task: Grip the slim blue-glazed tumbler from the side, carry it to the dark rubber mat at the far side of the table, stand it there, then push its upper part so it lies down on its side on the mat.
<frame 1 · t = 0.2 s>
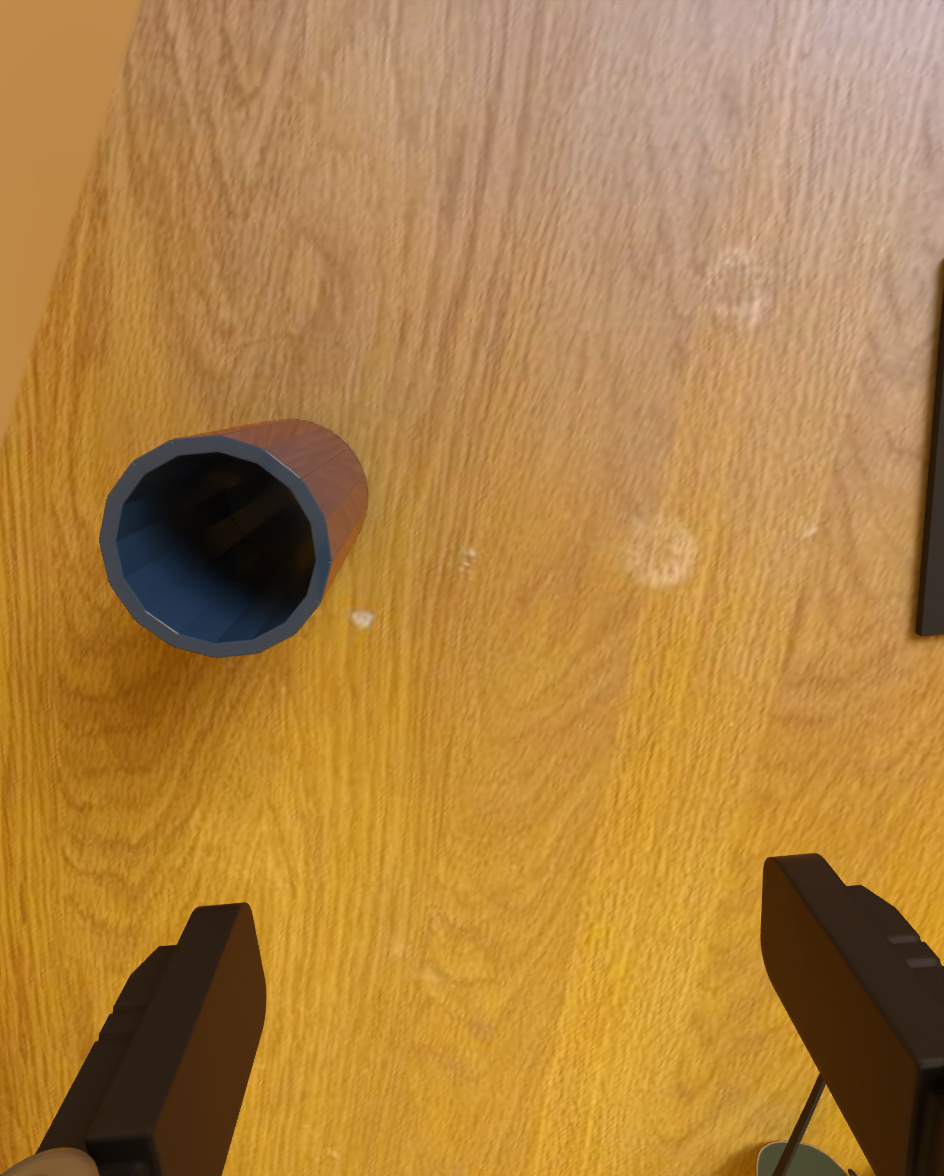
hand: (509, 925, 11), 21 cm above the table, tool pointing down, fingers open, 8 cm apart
tumbler: (295, 494, 30), on the table
sunglasses: (897, 1041, 40), on the table
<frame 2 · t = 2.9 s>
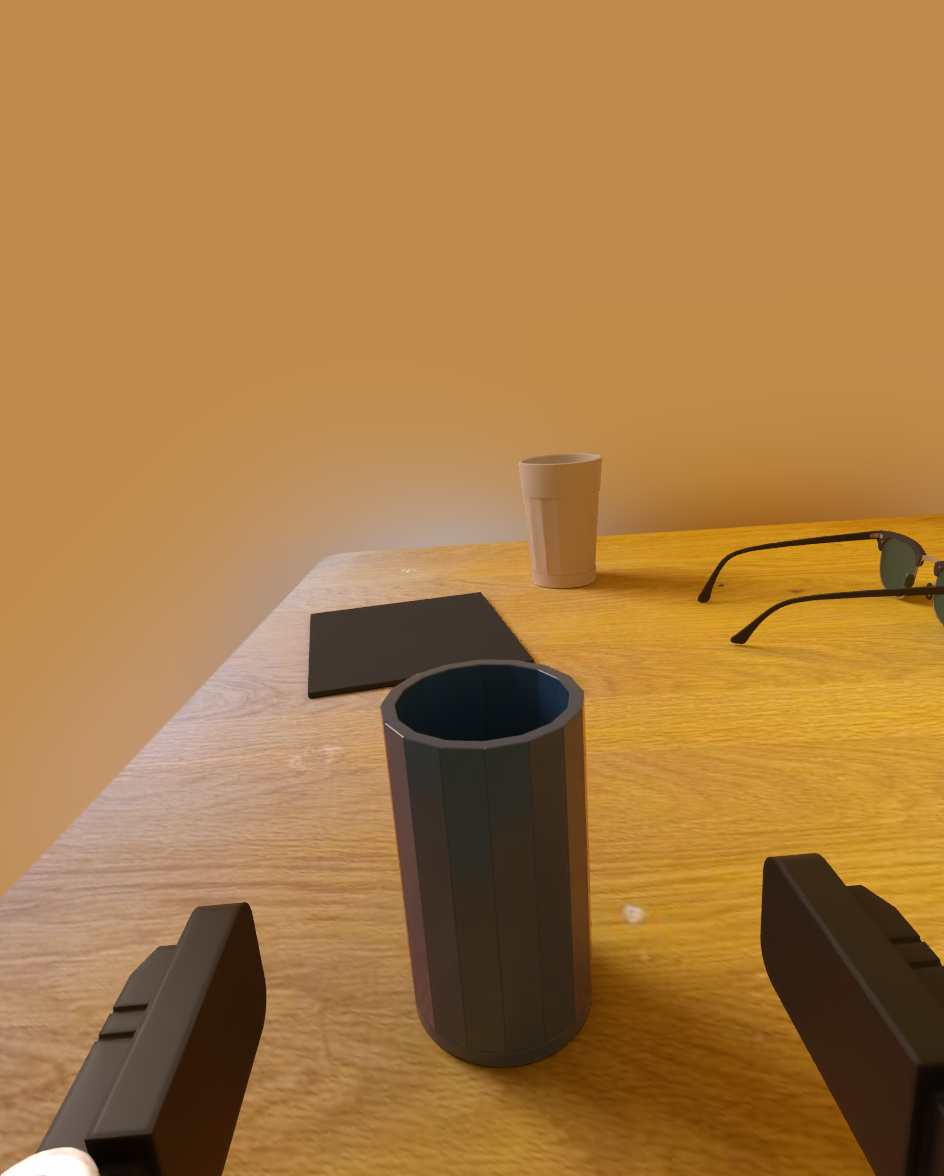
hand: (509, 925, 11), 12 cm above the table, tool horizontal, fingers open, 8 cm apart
cup: (564, 581, 73), on the table
tumbler: (503, 987, 25), on the table
sunglasses: (821, 619, 57), on the table
mat: (409, 638, 59), on the table
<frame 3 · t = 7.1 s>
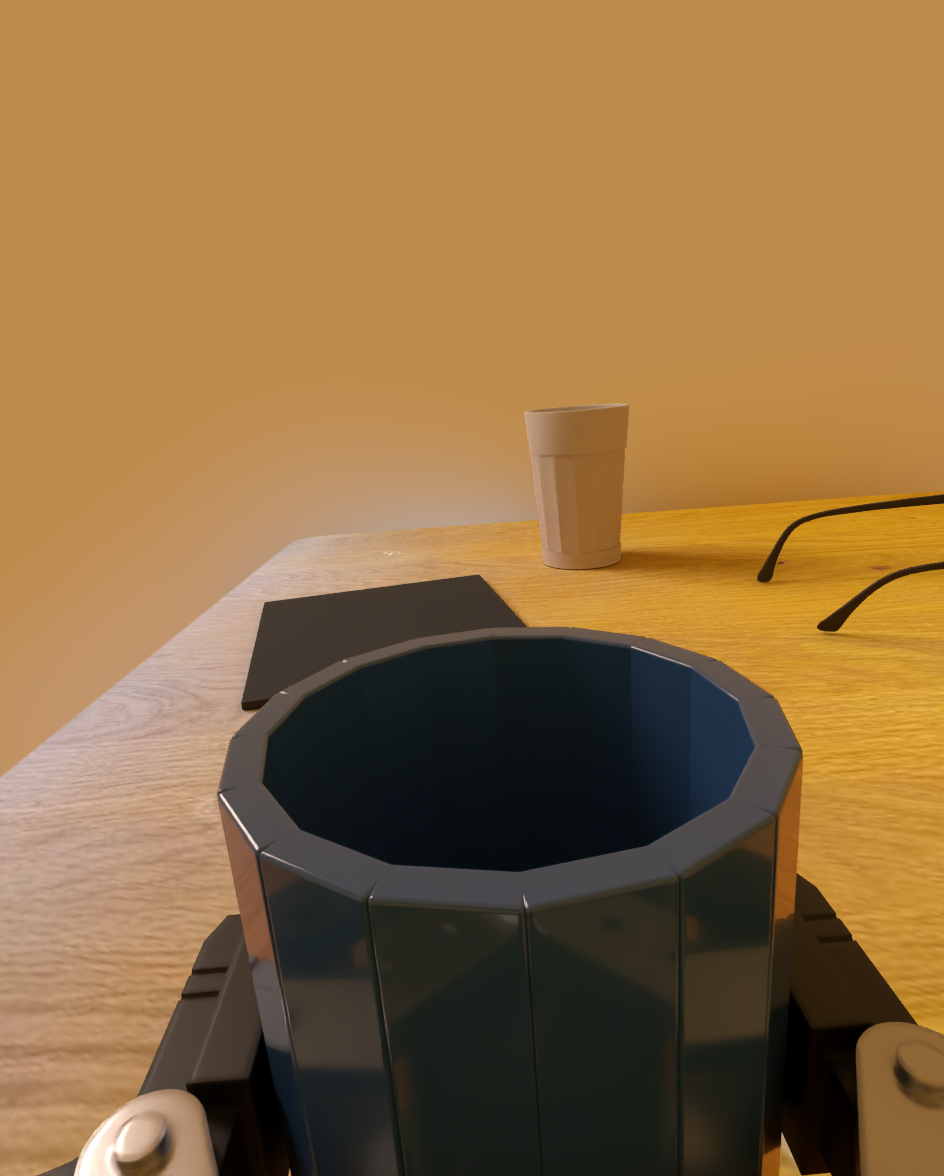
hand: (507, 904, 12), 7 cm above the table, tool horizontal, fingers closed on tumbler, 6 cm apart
cup: (581, 561, 59), on the table
sunglasses: (927, 600, 44), on the table
mat: (386, 630, 45), on the table
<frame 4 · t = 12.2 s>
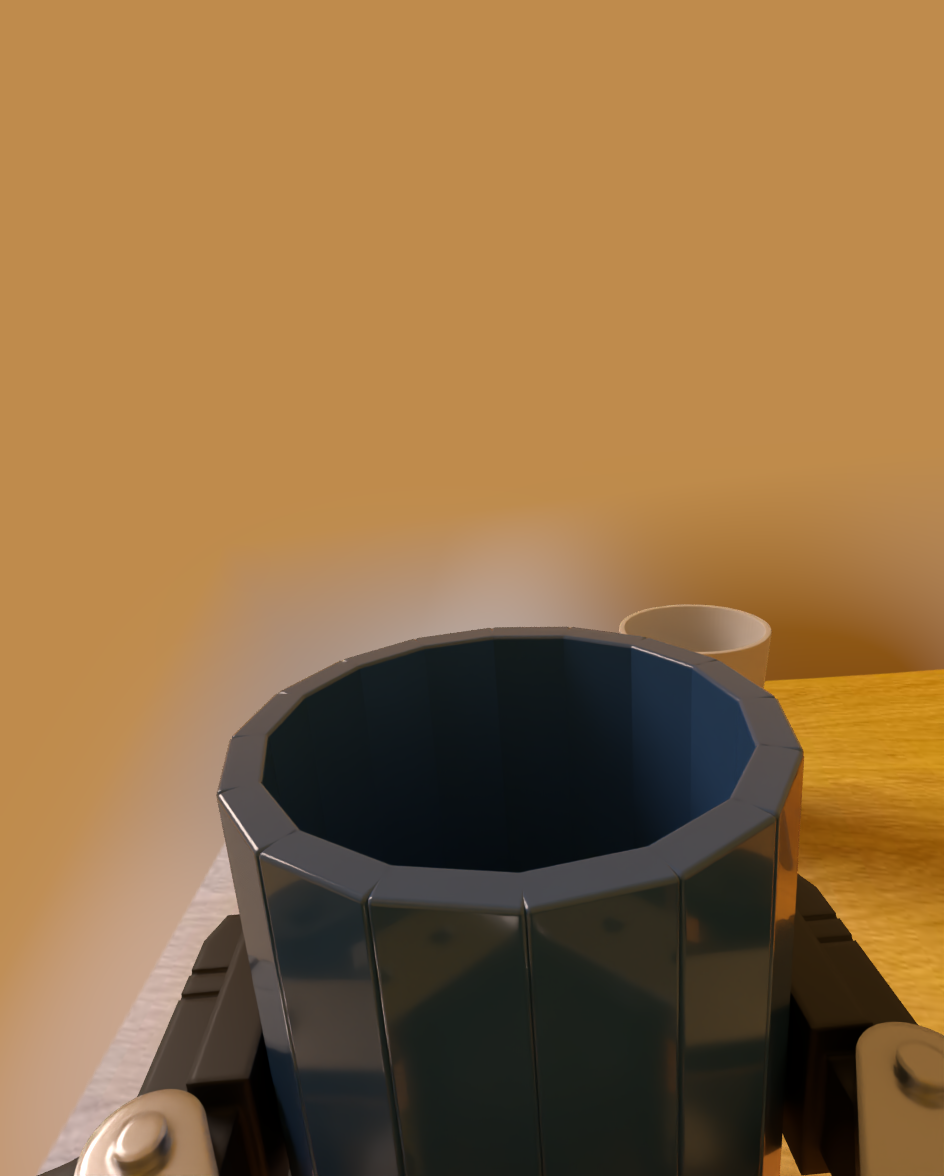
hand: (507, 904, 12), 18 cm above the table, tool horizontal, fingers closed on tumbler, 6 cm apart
cup: (691, 819, 43), on the table
when the fingers open (7 cm above the table, at t = 17.2 s): tumbler stays where it is, resting on mat.
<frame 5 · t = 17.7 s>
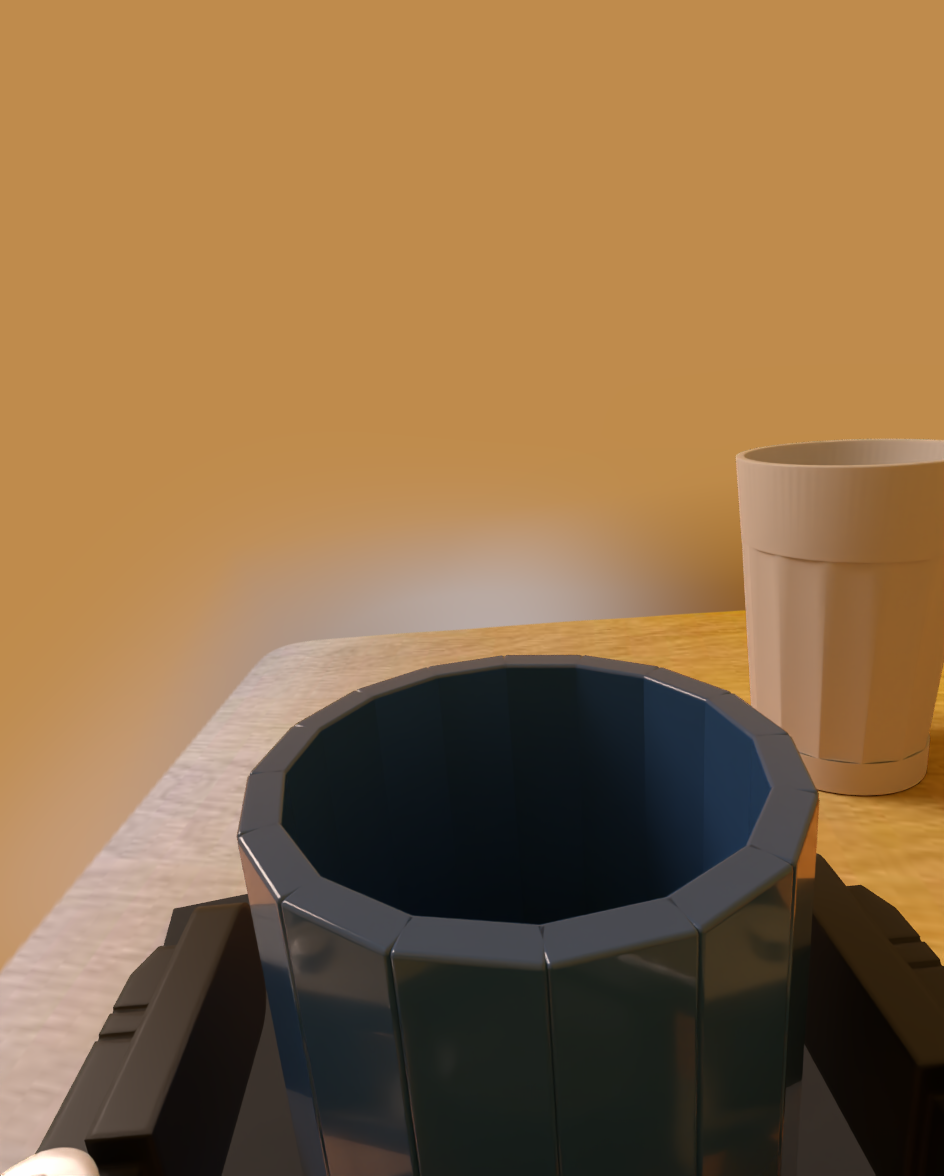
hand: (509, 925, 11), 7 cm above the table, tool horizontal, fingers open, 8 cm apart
cup: (834, 756, 29), on the table
mat: (487, 1125, 16), on the table
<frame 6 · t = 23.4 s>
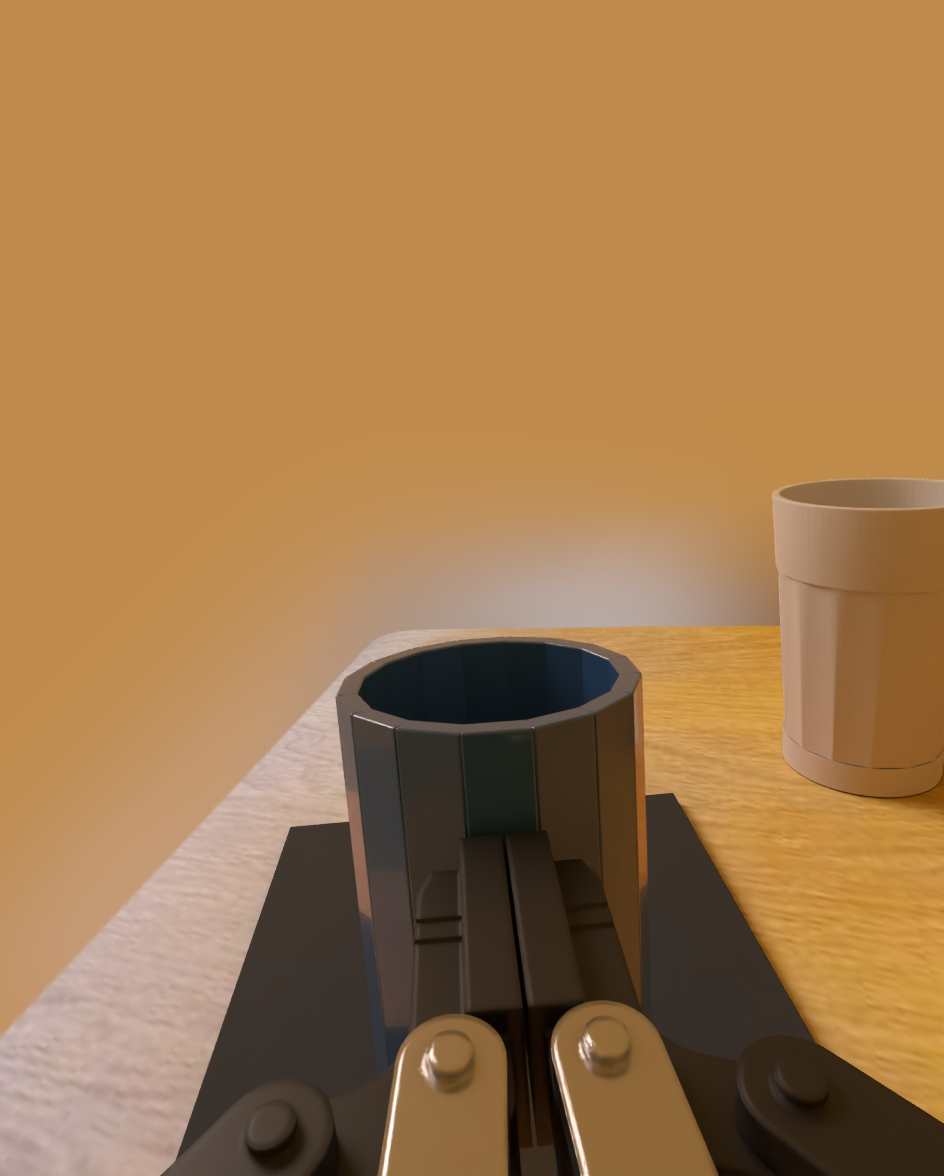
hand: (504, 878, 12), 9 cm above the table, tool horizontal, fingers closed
cup: (858, 762, 32), on the table
tumbler: (518, 1125, 17), point 1 cm above the table, tilted 5°, touching gripper, mat
mat: (500, 991, 21), on the table
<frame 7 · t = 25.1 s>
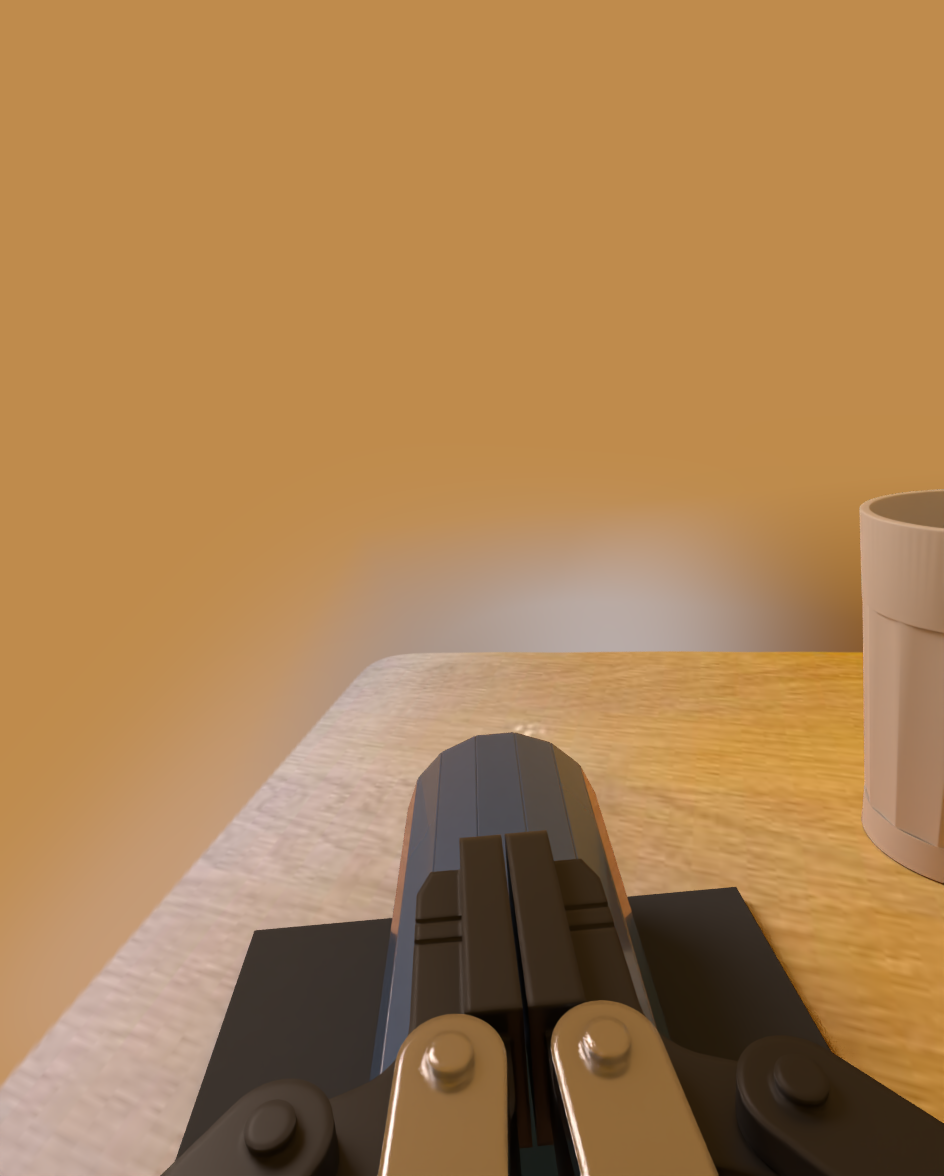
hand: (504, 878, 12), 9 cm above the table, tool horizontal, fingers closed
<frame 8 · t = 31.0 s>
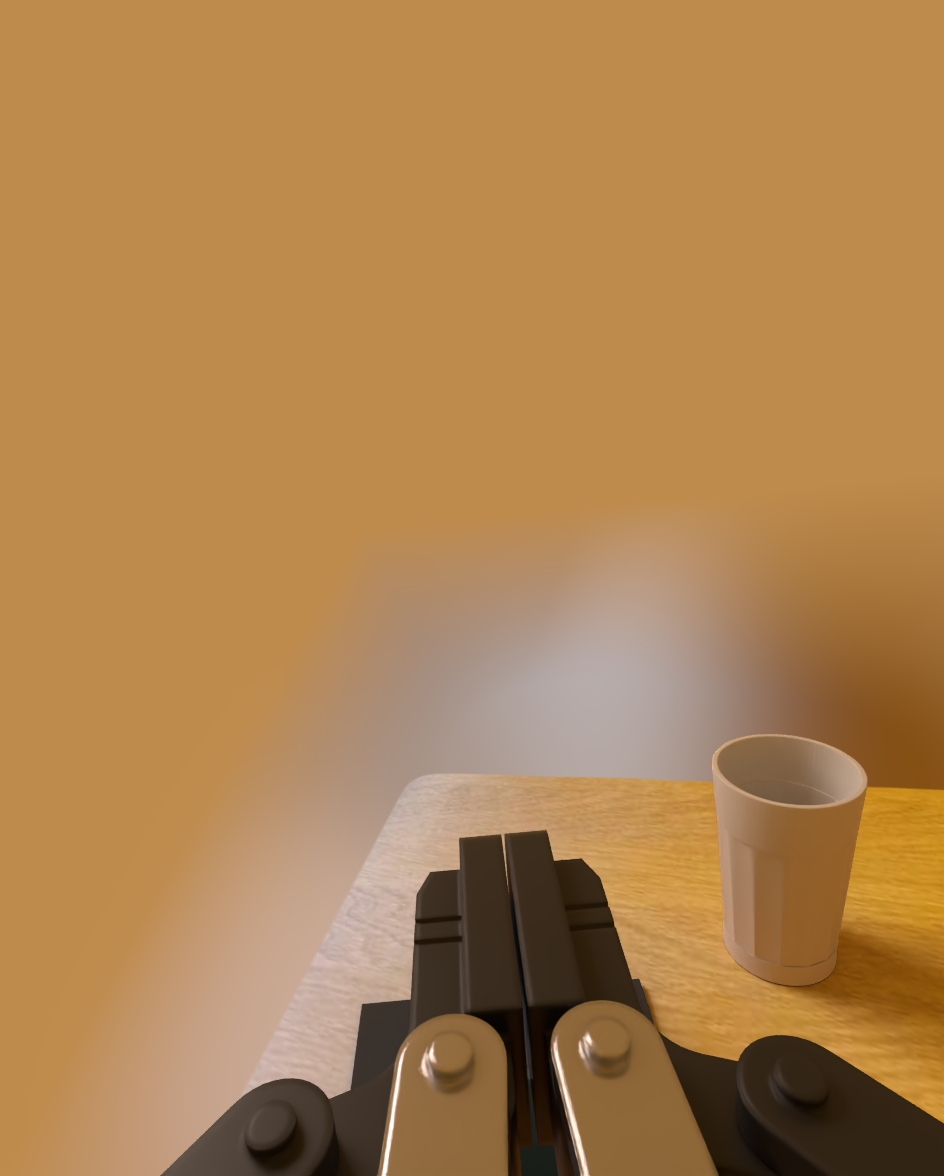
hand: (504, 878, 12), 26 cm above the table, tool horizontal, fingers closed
cup: (778, 946, 44), on the table
tumbler: (518, 1134, 30), point 3 cm above the table, tilted 90°, touching mat
mat: (516, 1158, 33), on the table
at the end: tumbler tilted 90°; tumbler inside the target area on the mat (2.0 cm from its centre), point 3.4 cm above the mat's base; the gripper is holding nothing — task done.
